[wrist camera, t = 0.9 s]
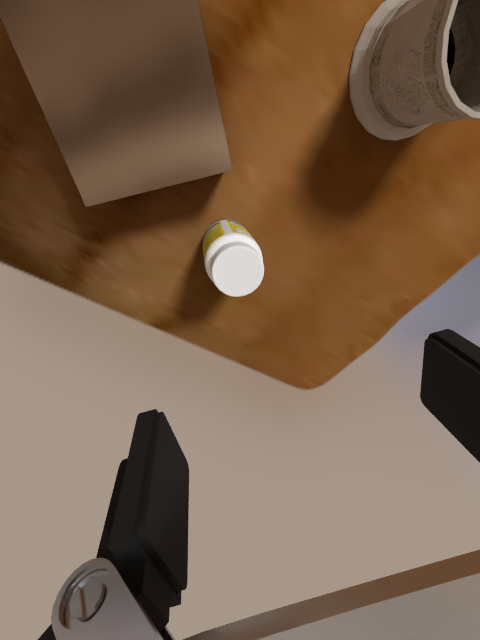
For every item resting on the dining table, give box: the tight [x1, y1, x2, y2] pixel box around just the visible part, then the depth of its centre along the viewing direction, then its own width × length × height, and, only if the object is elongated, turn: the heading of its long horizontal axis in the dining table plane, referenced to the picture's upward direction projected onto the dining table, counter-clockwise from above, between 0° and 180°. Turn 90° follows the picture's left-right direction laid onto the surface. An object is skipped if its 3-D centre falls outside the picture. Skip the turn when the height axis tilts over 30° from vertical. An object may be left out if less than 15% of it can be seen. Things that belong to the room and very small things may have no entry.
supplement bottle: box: [202, 220, 264, 297], centre depth 26 cm, size 5×5×8 cm
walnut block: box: [0, 0, 232, 207], centre depth 21 cm, size 11×11×5 cm
